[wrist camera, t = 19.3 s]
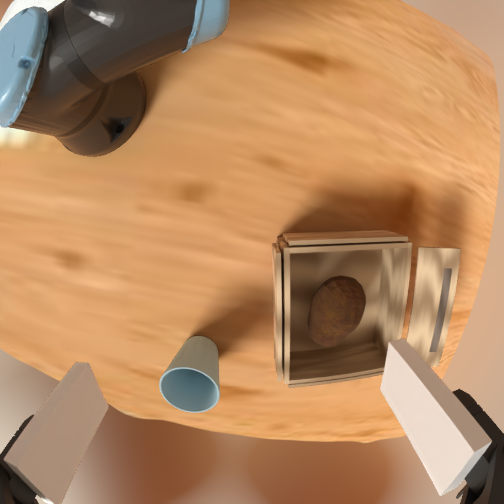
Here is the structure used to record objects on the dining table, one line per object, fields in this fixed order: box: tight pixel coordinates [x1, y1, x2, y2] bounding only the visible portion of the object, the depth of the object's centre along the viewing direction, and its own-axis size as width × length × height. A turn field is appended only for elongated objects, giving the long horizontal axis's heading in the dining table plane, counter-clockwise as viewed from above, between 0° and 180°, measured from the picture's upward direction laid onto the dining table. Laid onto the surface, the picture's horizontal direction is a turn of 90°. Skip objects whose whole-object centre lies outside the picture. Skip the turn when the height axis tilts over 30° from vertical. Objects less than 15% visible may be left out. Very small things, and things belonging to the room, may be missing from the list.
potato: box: [307, 275, 366, 347], centre depth 36 cm, size 7×10×8 cm
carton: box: [272, 230, 412, 388], centre depth 36 cm, size 20×17×8 cm
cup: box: [159, 336, 220, 413], centre depth 37 cm, size 8×8×10 cm
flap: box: [406, 247, 461, 367], centre depth 31 cm, size 17×1×6 cm
